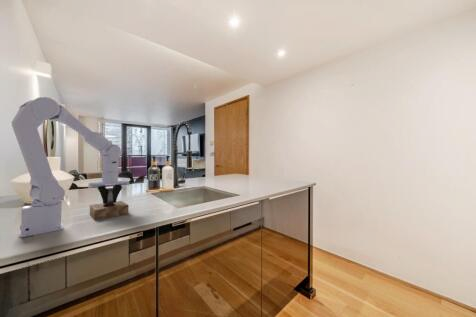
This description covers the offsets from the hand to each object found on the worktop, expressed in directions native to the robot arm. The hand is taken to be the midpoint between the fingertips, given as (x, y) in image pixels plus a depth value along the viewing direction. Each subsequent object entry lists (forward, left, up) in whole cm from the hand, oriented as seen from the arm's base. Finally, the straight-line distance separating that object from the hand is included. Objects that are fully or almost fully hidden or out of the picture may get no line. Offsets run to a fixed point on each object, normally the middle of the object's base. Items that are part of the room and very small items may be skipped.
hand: (109, 202), depth 80 cm
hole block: (0, 0, -5) cm, 5 cm away
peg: (0, 0, -3) cm, 3 cm away
